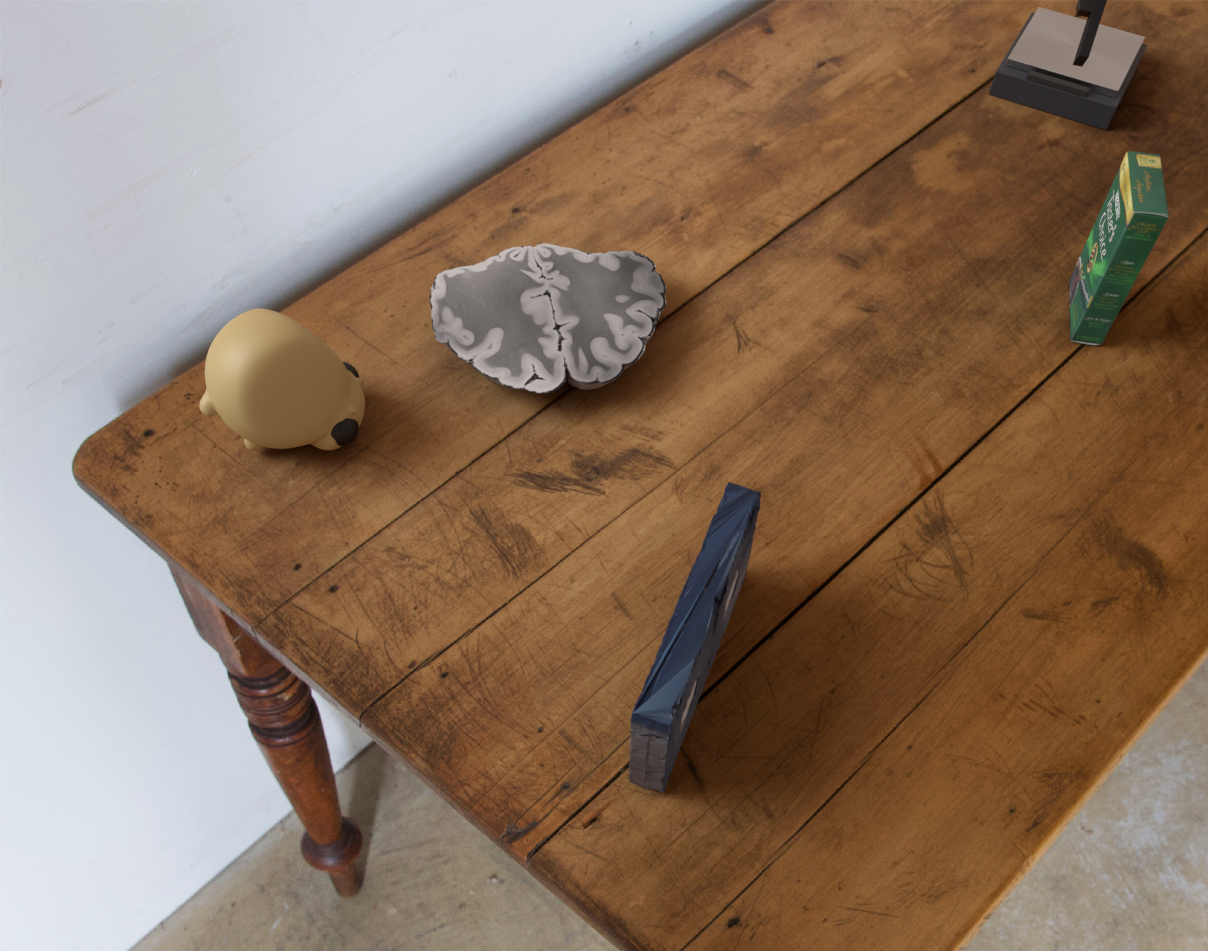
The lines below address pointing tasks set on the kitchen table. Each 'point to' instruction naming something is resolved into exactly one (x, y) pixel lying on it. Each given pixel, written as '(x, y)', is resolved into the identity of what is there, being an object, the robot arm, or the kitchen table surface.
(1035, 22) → the scale
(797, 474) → the kitchen table surface
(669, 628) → the vhs cassette tape
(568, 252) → the brain slice
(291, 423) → the toy pig
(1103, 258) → the coffee box
